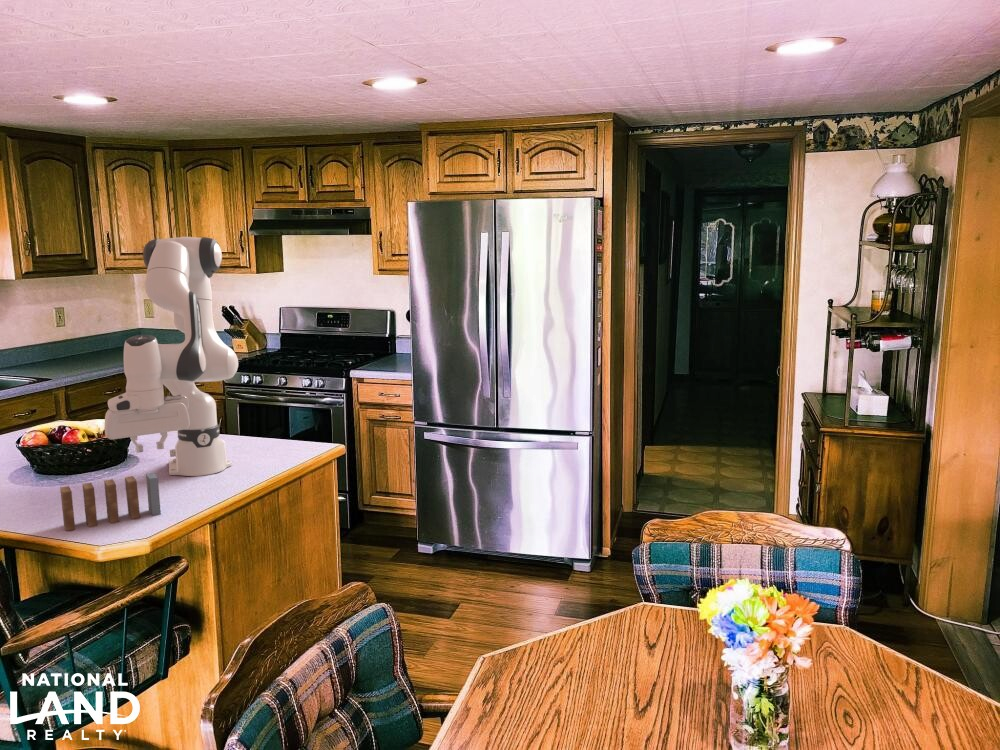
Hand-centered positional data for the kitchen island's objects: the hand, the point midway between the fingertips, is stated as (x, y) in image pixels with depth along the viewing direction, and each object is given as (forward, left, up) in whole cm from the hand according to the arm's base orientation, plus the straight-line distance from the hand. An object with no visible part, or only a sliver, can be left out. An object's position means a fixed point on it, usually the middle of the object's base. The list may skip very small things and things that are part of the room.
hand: (150, 450), depth 208 cm
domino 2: (0, -15, -17) cm, 23 cm away
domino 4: (0, -5, -17) cm, 18 cm away
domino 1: (0, -20, -17) cm, 26 cm away
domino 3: (0, -10, -17) cm, 20 cm away
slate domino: (0, 0, -17) cm, 17 cm away
